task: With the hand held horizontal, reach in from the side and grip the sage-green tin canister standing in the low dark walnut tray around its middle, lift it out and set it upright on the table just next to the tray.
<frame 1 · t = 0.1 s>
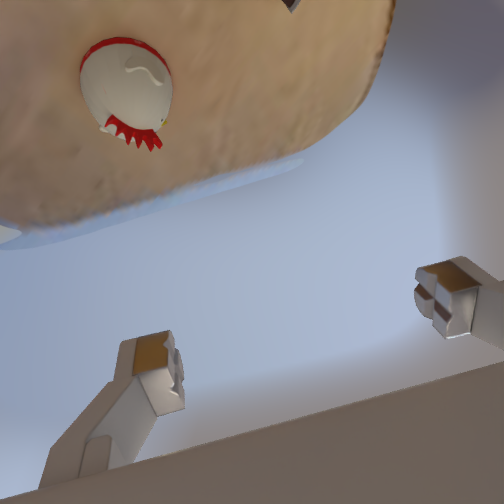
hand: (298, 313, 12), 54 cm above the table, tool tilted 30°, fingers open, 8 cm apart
kitchen timer: (127, 80, 61), on the table
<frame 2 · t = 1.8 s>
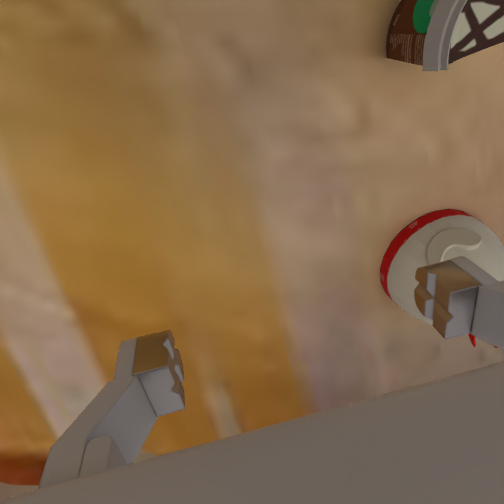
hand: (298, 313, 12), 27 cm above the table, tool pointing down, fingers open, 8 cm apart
kitchen timer: (430, 259, 48), on the table
food container: (430, 1, 33), on the table
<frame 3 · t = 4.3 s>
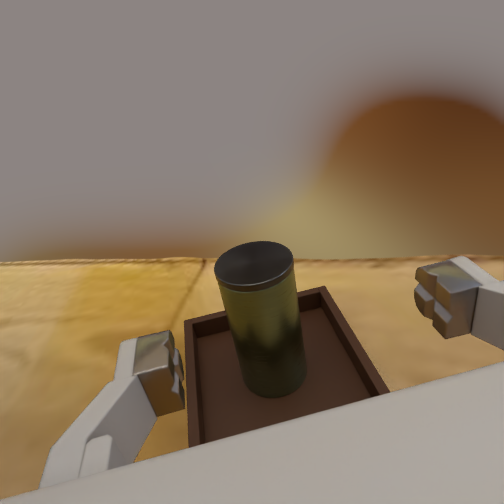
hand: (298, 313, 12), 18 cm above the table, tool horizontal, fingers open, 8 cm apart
tray: (275, 374, 33), on the table
tin canister: (274, 370, 33), resting on tray
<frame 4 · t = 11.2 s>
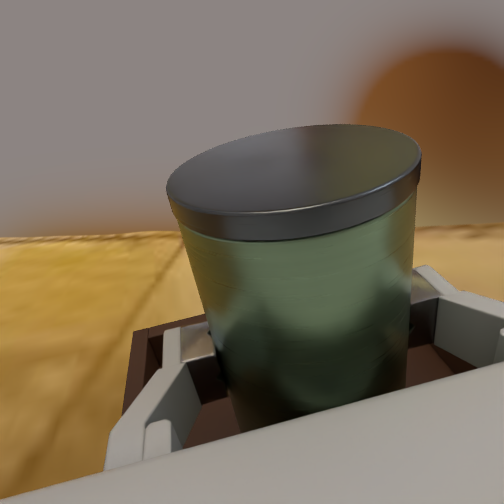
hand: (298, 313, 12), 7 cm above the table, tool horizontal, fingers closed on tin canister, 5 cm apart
tray: (322, 455, 15), on the table
tin canister: (322, 447, 14), point 1 cm above the table, touching gripper, tray
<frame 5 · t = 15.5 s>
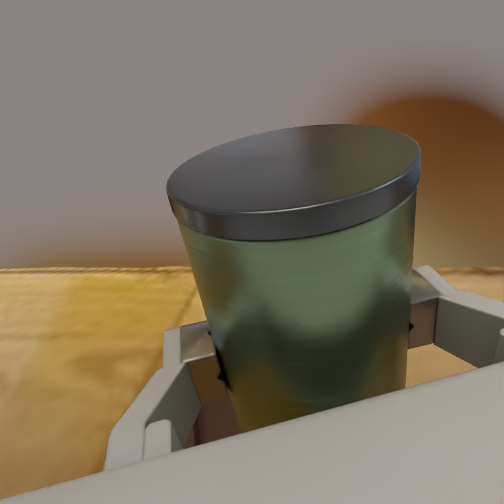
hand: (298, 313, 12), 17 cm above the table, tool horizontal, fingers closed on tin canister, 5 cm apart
tray: (283, 407, 29), on the table
tin canister: (322, 447, 14), point 11 cm above the table, touching gripper
when the fingers open (6 cm above the table, at t = 20.3 s): tin canister stays where it is, on the table.
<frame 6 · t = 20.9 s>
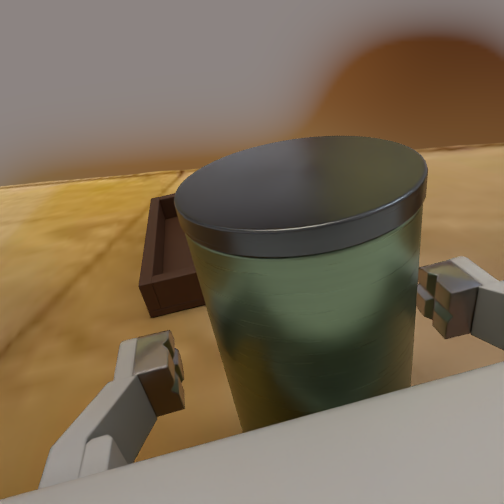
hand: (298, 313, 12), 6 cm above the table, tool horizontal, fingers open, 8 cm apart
tray: (245, 239, 31), on the table
tin canister: (326, 454, 15), on the table
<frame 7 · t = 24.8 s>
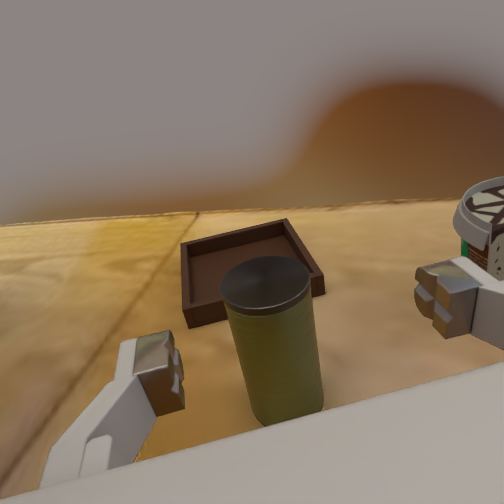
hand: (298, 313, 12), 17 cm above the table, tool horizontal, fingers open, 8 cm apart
tray: (246, 274, 45), on the table
food container: (490, 288, 36), on the table
tin canister: (286, 398, 29), on the table
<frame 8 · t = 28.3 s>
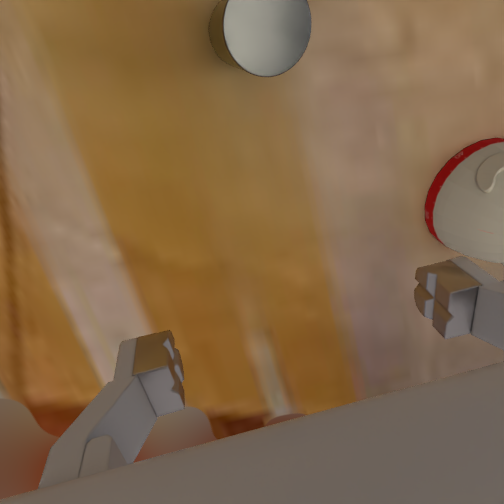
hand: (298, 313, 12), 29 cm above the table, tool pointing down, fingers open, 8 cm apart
kitchen timer: (476, 195, 47), on the table
tin canister: (240, 31, 34), on the table
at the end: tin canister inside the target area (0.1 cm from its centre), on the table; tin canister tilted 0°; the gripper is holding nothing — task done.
